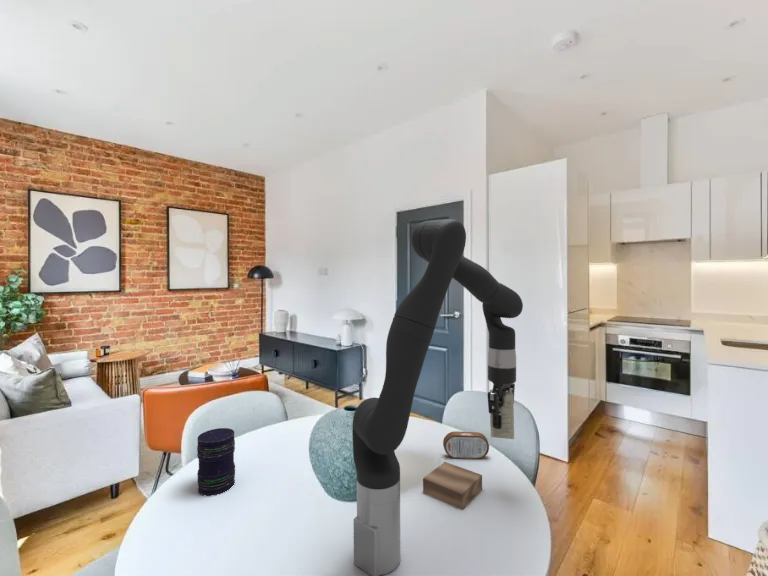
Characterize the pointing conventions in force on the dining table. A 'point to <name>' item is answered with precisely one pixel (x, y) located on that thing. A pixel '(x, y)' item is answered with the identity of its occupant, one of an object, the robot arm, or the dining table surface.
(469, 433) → the tin
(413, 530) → the dining table surface
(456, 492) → the walnut plinth
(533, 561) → the dining table surface
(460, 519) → the dining table surface
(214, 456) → the dark blue cylinder
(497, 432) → the skincare box
